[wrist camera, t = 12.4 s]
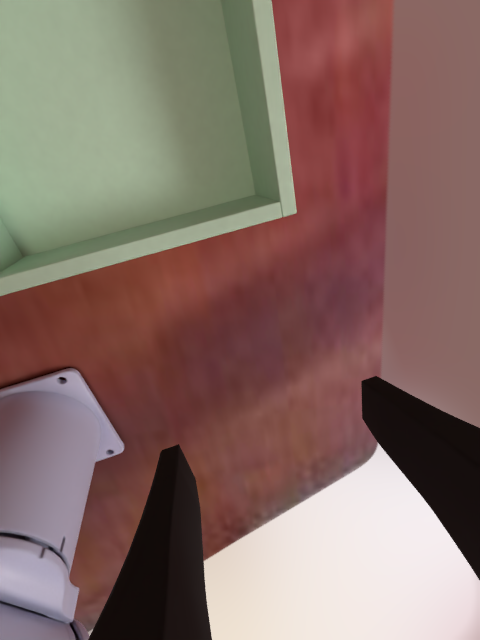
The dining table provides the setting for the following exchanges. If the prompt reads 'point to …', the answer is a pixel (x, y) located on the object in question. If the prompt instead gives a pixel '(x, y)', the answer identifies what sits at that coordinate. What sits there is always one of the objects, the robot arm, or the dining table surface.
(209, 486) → the dining table surface
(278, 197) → the bin
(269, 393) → the dining table surface
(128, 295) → the dining table surface
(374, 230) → the dining table surface
